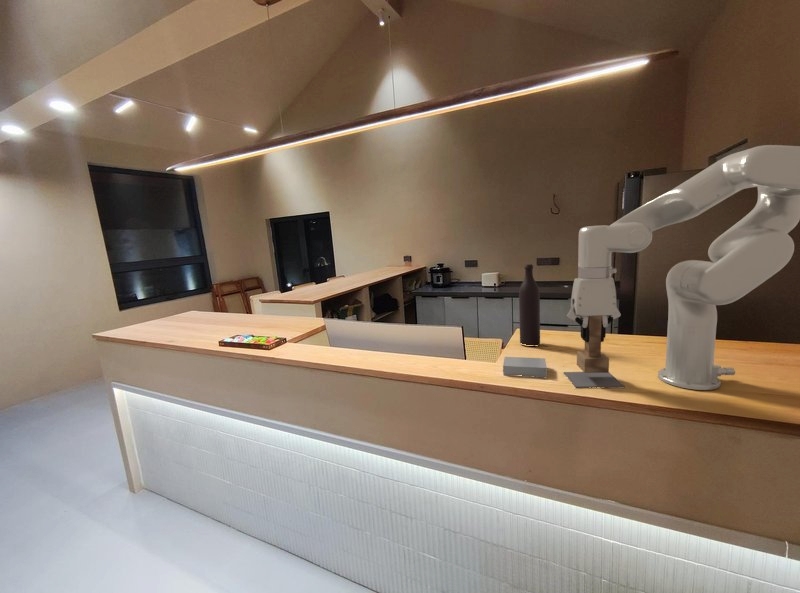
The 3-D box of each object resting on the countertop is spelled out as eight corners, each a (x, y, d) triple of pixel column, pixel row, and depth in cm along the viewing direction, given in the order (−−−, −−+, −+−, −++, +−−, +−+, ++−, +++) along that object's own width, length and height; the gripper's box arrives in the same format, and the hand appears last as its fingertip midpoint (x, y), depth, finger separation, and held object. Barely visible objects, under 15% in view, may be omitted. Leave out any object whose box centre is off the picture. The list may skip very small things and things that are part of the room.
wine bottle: (543, 343, 129) (542, 263, 124) (535, 348, 124) (534, 265, 119) (524, 340, 134) (523, 263, 129) (516, 345, 129) (515, 265, 124)
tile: (545, 358, 106) (504, 356, 110) (546, 368, 98) (503, 365, 103) (545, 368, 106) (504, 366, 111) (546, 378, 99) (503, 376, 103)
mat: (608, 372, 99) (608, 371, 99) (624, 387, 89) (624, 386, 89) (563, 373, 101) (563, 371, 101) (575, 388, 91) (575, 386, 91)
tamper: (599, 364, 97) (600, 309, 94) (608, 372, 91) (610, 314, 89) (576, 364, 98) (577, 310, 95) (584, 372, 92) (585, 315, 90)
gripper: (621, 270, 93) (618, 335, 96) (557, 273, 95) (556, 337, 98) (635, 273, 85) (632, 344, 88) (565, 276, 88) (565, 345, 91)
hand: (592, 339), depth 93 cm, fingers closed on tamper, 3 cm apart
